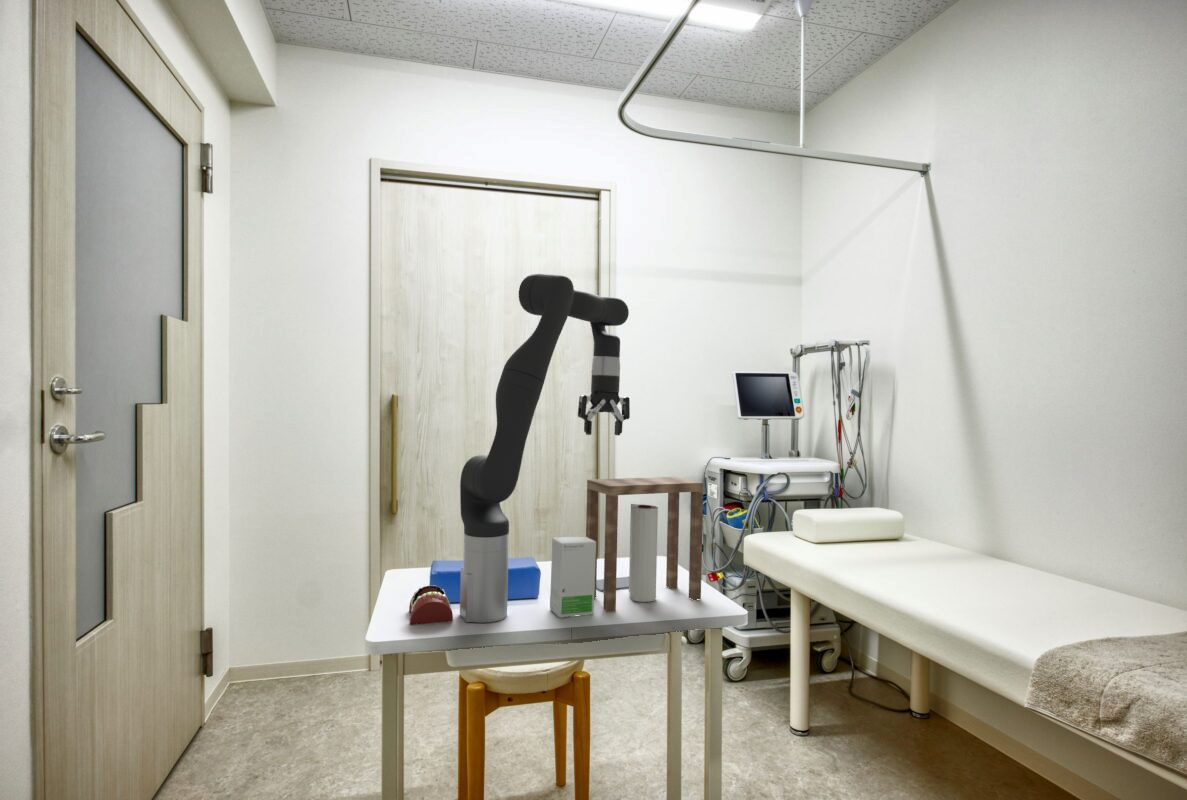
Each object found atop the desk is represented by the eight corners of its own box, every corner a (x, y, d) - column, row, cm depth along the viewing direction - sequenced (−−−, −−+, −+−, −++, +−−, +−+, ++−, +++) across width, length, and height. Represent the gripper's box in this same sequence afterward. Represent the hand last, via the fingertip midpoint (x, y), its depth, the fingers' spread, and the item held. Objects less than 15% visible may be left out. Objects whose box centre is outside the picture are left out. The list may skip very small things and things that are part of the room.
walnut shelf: (607, 612, 136) (610, 486, 136) (584, 596, 147) (587, 479, 147) (700, 599, 146) (703, 482, 146) (673, 585, 157) (675, 476, 157)
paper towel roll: (656, 603, 143) (658, 508, 143) (630, 602, 143) (632, 507, 143) (654, 593, 150) (656, 503, 150) (628, 593, 150) (630, 502, 150)
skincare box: (558, 618, 131) (559, 543, 131) (548, 609, 137) (550, 537, 137) (595, 614, 134) (597, 541, 134) (584, 605, 140) (586, 534, 140)
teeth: (447, 577, 138) (453, 594, 126) (448, 606, 138) (454, 625, 126) (407, 581, 135) (409, 599, 124) (408, 611, 135) (410, 631, 124)
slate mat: (600, 591, 151) (600, 589, 151) (586, 582, 158) (586, 581, 158) (651, 585, 157) (651, 584, 157) (635, 577, 164) (635, 575, 164)
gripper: (586, 372, 162) (584, 435, 163) (635, 375, 168) (633, 436, 168) (575, 373, 169) (573, 433, 169) (623, 375, 175) (620, 434, 175)
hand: (603, 435), depth 169 cm, fingers open, 8 cm apart
